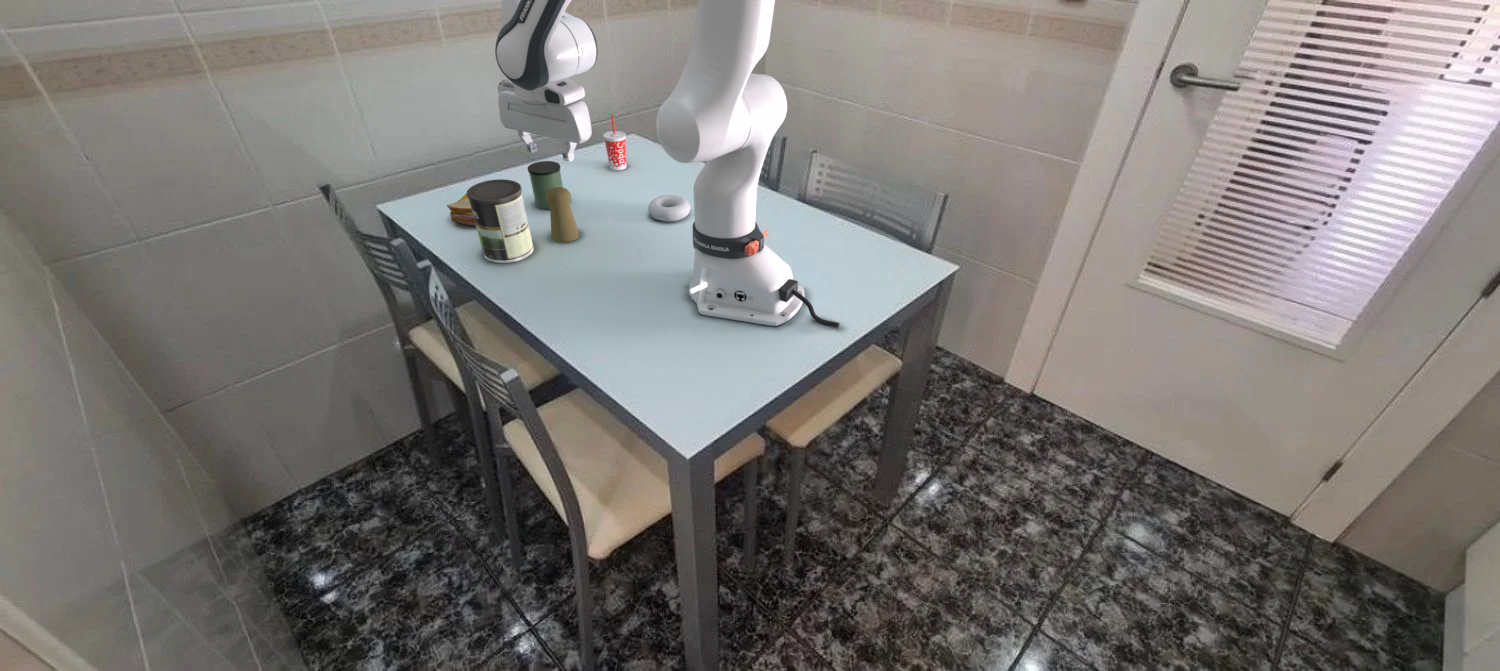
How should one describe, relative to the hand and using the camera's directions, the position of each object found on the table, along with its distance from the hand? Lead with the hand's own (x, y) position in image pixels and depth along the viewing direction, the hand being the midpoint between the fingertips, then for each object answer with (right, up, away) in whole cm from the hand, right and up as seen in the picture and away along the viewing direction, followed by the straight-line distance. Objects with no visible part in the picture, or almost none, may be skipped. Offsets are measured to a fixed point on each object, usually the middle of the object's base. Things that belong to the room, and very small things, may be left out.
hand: (550, 156), depth 125 cm
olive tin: (-8, -4, +24) cm, 26 cm away
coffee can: (-10, -19, +5) cm, 22 cm away
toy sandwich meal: (-22, -9, +18) cm, 30 cm away
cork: (0, -15, +11) cm, 18 cm away
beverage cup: (+5, +10, +44) cm, 45 cm away
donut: (+22, -8, +21) cm, 31 cm away
